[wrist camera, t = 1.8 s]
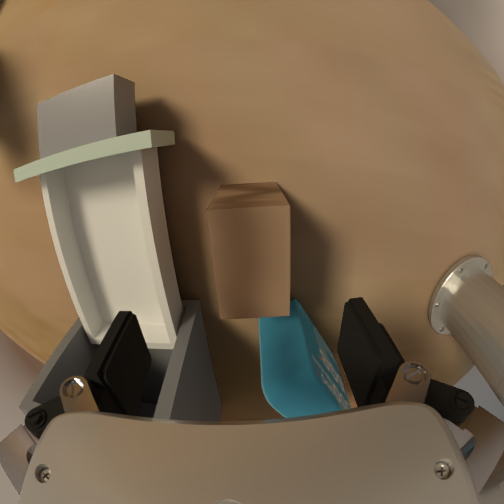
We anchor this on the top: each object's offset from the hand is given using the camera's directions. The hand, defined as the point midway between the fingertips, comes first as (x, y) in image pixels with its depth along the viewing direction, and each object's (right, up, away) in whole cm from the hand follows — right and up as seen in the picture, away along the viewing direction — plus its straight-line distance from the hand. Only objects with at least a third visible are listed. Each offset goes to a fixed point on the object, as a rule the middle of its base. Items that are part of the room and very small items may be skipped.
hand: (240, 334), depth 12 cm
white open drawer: (-13, +7, +13) cm, 19 cm away
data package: (+6, -6, +20) cm, 22 cm away
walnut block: (0, +6, +15) cm, 16 cm away
